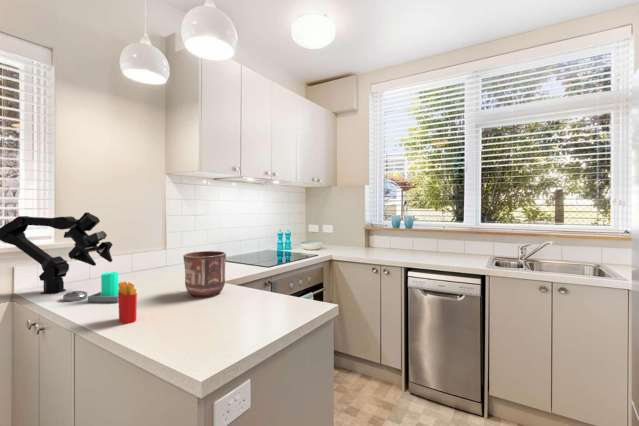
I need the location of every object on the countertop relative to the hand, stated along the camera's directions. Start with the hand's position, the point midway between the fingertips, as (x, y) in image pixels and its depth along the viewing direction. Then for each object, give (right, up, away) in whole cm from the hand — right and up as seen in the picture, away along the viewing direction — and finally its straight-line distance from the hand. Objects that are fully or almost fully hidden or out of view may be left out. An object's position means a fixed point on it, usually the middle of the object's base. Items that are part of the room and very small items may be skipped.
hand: (103, 263), depth 143 cm
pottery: (+45, -14, 0) cm, 47 cm away
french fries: (+31, -14, -34) cm, 48 cm away
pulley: (-6, -14, -9) cm, 17 cm away
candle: (+9, -13, -9) cm, 18 cm away
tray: (+9, -14, -8) cm, 18 cm away
